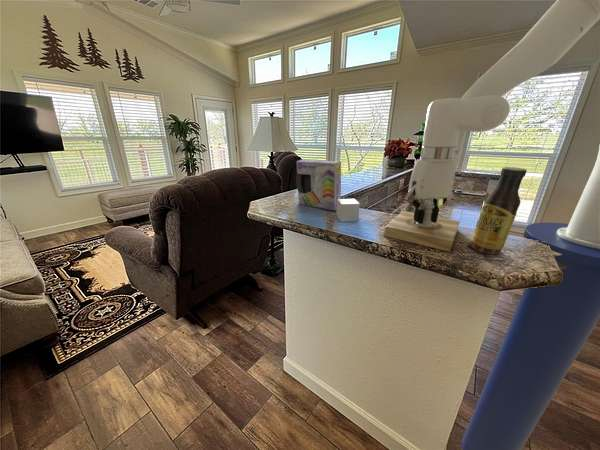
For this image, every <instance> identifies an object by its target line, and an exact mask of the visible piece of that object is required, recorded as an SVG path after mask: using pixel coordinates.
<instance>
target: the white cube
mask: <svg viewBox="0 0 600 450" xmlns="http://www.w3.org/2000/svg"><path fill="white" fill-rule="evenodd" d="M360 206H361V203H360V202H359V201H358V200H357V199H355V198H353V197H351V198H341V199H337V210H336V214H335V215H336V217H337V218H338V220H339V221H340V222H357V221H359V219H360Z"/></svg>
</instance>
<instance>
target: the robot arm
mask: <svg viewBox="0 0 600 450" xmlns="http://www.w3.org/2000/svg"><path fill="white" fill-rule="evenodd" d="M599 20H600V0H556V1H555V2H554V3H552V5H551V6H550V7H549V8H548V9H547V10H546V12H545V13H544V14H543V15H542V16H541V17H540V18H539V19H538V20H537V22H536V23H535V24H534V25H533V26H532V27H531V28H530V29H529V30H528V32H527V33H526V34H525V35H524V36H523V37H522V38H521V39H520V40H519V41H518V42H517V43H516V44H515V45H514V46H513V47H512V48H511V49H509V50H508V52H506V53H505V54H504V55H503V56H502V57H501V58H500V59H499V60H497V62H495V63H494V64H493V65H492V66H491V67H490V68H488V70H487V71H486V72H484V73H483V74H482V75H481V76H480V77H479V78H478V79H477V80H476V81H475V82H474V83H473V84H472V85H471V86H470V87H469V88H468V90H467V91H465V93H464V94H463V95H462V97H461V98H460V97H446V98H438V99H434V100H433V101H432V102H430V104H429V105H428V107H427V113H426V120H425V126H424V132H423V138H422V139H423V140H422V143H421V150H420V157H419V158H417V159H416V160H415V163H414V165H413V168H412V172H411V174H410V180H409V184H408V191H407V194H406V195H405V197H404V200H406V201H407V202H409V203H411V205H412V206H413V208H414V212H413V213H414V221H416V222H418V223H419V224H422V223H423V219H424V213H425V210H423V208H424V205H425V201H427V200H430V199H431V203H432V202H433V203H434V208H433V209H432V213H431V221H432V222H434V223H436V222H437V218H438V217H439V212H440V209H442V208H443V205H445V204H446V203H447V201H450V200H451V199H453V198H454V192H453V189H454V185H455V184H454V183H455V178H456V159H455V155H457V154H458V153H459V148H457V145H458V141H459V136H460V132H474V133H481V132H488V131H492V130H494V129H496V128H498V127H500V126H501V125H502V124H503V123H504V122H505V121H506V120H507V118H508V117H509V114H510V111H511V110H510V109H511V106H510V104H509V102H508V100H507V99H506V98H505V97H503V96H505V95H506V94H507V93H508V92H510V91H511V90H513V89H515V88H516V87H518V86H519V85H522V84H523V83H525V82H527V81H529V80H531V79H533V78H535V77H536V76H538V75H540V74H543V72H545V71H546V70H548V69H550V68H551V67H553V66H554V65H555V64H556V63H558V62H559V61H560V60H561V59H562V58H563V57H564V56H565V55H566V54H567V53H568V52H569V50H571V49H572V47H574V46H575V44H576V43H578V41H580V39H581V38H582V37H583V36H584V35H585V34H586V33H587V32H588V31H589V30H590V29H591V28H592V27H593V26H594V25H595V24H596V23H597V22H599ZM414 197H415V198H414ZM569 220H570V221H569V223H568V224H569V225H568V227H566V228H560V229H558V230H557V232H556V234H557V235H558V236H559V237H561V238H562V239H565V240H567V241H570V242H572V243H575V244H579V245H582V246H586V247H591V248H596V249H600V145H599V148H598V152H597V157H596V160H595V163H594V166H593V168H592V171H591V172H590V175H589V178H588V180H587V182H586V184H585V186H584V189H583V191H582V193H581V194H580V198H579V200H578V202H577V205H576V206H575V209H574V211H573V214H572V215H571V218H570V219H569Z"/></svg>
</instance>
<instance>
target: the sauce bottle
mask: <svg viewBox="0 0 600 450" xmlns="http://www.w3.org/2000/svg"><path fill="white" fill-rule="evenodd" d="M527 171H528V170H527V169H526V168H523V167H514V166H504V167H502V168H501V171H500V173H499V174H500V176H499V179H498V182H497V183H496V187H495V189H493V191H492V192H491V193H490V194H489V195H488V196H487V198H486V200H485V201H484V203H483V205H482V207H481V210H480V214H479V216H478V219H477V222H476V226H475V228H474V231H473V234H472V237H471V243H470V247H471V248H472V249H473V250H475V251H476V252H479V253H482V254H485V255H499V254H500V253H501V251H502V249H504V247H505V244H506V241H507V239H508V237H509V234H510V231H511V229H512V227H513V224H514V223H515V222H514V221H515V220H516V217H517V214H518V213H517V212H518V209H519V208H520V206H521V197H520V195H519V190H520V186H521V183H522V181H523V179H524V177H526V175H527Z"/></svg>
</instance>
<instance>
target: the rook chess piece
mask: <svg viewBox="0 0 600 450" xmlns="http://www.w3.org/2000/svg"><path fill="white" fill-rule="evenodd" d="M433 208H434V203H433V202H432V201H427V200H426V201H425V205H424V208H423V210H425V213H424V219H423V223H422V224H419V223H418V222H416V225H418V226H422V227H432V226H433V225H432V224H431V223H432V222H431V213H432V209H433Z"/></svg>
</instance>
